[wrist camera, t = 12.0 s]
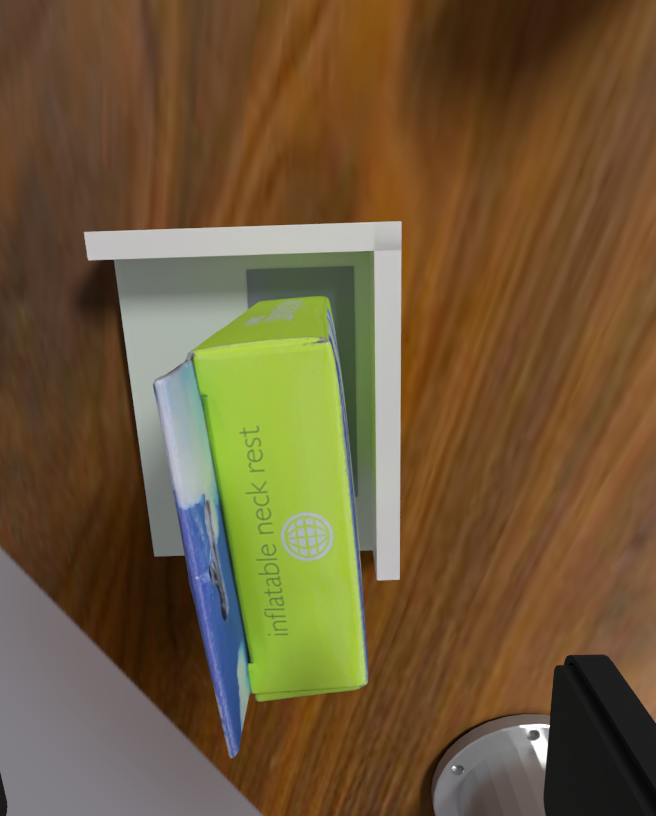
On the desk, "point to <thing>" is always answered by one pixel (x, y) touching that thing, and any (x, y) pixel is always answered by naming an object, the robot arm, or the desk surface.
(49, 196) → the desk surface
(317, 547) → the box
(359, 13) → the desk surface
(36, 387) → the desk surface
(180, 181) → the desk surface
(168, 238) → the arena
